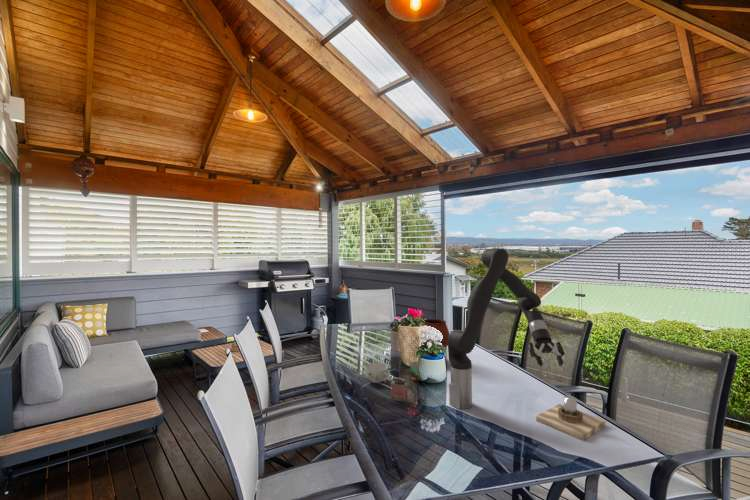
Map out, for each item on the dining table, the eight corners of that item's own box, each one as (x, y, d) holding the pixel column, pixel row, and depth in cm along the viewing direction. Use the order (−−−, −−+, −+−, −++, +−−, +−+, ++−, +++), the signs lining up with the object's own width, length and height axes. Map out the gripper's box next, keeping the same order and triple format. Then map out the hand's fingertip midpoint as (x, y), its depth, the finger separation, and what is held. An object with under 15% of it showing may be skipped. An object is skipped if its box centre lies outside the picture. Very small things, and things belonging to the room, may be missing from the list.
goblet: (454, 358, 220) (454, 319, 220) (443, 368, 204) (442, 325, 203) (426, 354, 230) (426, 316, 230) (413, 362, 214) (413, 322, 214)
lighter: (408, 399, 164) (408, 377, 164) (406, 402, 161) (406, 380, 161) (392, 396, 168) (392, 375, 167) (390, 399, 164) (389, 378, 164)
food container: (415, 384, 181) (415, 365, 181) (408, 380, 187) (408, 361, 187) (434, 379, 187) (434, 361, 187) (427, 375, 193) (427, 357, 192)
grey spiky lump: (360, 380, 188) (360, 365, 188) (379, 374, 195) (378, 360, 195) (377, 389, 176) (376, 373, 176) (396, 383, 183) (396, 368, 183)
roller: (573, 421, 137) (573, 401, 137) (561, 417, 141) (561, 397, 140) (578, 418, 139) (578, 398, 139) (567, 414, 143) (567, 394, 143)
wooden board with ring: (583, 440, 127) (583, 428, 127) (536, 420, 142) (536, 409, 142) (605, 425, 138) (605, 414, 137) (559, 408, 152) (559, 398, 152)
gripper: (526, 328, 161) (537, 361, 150) (557, 327, 161) (571, 361, 150) (522, 336, 166) (532, 369, 156) (552, 335, 166) (564, 368, 155)
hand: (551, 365), depth 153 cm, fingers open, 8 cm apart
